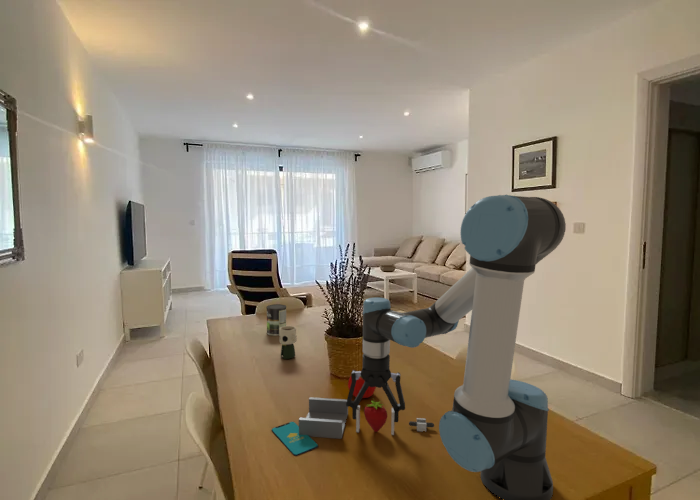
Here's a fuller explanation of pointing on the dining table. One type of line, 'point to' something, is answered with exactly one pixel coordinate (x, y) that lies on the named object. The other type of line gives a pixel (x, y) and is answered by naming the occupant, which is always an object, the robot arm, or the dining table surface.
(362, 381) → the tomato
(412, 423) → the block with rod
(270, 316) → the coffee can
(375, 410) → the strawberry
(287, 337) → the character mug
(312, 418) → the end holder
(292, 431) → the smartphone
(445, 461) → the dining table surface
